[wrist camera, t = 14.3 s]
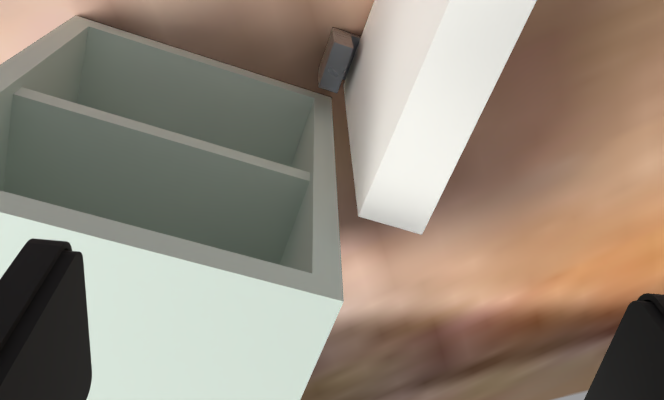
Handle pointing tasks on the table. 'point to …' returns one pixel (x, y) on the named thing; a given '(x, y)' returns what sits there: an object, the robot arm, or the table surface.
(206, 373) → the cabinet
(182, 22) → the table surface
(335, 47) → the hinge clips
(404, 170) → the door
